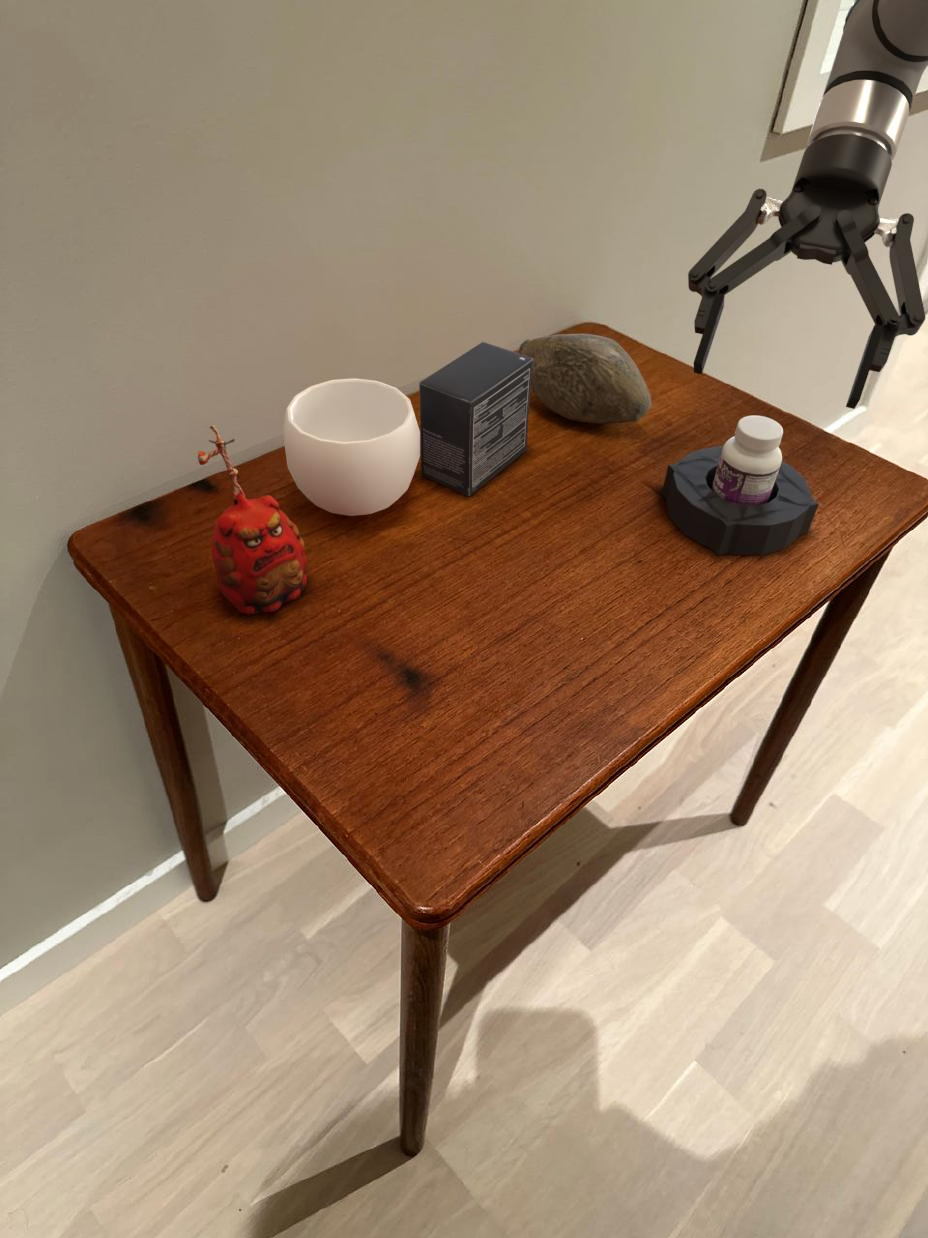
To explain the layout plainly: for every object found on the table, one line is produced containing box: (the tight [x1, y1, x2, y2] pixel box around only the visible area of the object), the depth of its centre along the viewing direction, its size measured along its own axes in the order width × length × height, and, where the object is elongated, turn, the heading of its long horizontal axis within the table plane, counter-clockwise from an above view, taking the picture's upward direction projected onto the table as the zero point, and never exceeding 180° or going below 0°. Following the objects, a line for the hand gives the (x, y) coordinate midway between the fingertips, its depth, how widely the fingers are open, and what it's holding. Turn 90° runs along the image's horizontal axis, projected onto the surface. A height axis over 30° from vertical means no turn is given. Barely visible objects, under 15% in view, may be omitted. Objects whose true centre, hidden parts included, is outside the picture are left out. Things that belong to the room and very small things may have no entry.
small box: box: [418, 341, 533, 497], centre depth 85 cm, size 11×6×10 cm, turn 144°
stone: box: [518, 333, 652, 425], centre depth 94 cm, size 17×9×8 cm, turn 52°
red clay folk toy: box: [197, 425, 308, 616], centre depth 68 cm, size 8×7×15 cm
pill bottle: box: [711, 414, 784, 505], centre depth 80 cm, size 5×5×10 cm
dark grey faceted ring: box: [661, 445, 820, 556], centre depth 82 cm, size 12×12×4 cm
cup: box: [282, 377, 421, 517], centre depth 80 cm, size 12×12×10 cm
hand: (773, 385), depth 77 cm, fingers open, 13 cm apart
